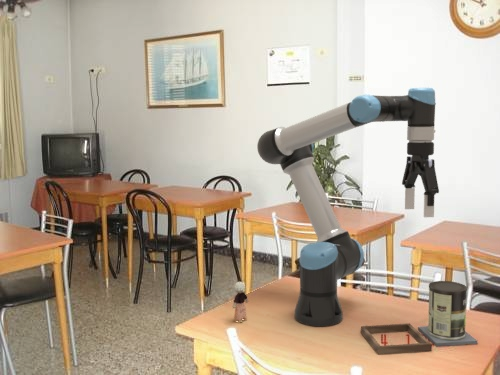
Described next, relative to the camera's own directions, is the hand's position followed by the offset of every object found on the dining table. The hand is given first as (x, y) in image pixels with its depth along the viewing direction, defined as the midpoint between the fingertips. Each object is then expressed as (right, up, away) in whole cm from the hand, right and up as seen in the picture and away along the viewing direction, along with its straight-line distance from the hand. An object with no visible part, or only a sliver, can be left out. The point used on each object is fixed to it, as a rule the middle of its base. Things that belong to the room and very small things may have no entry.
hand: (418, 213), depth 161 cm
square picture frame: (-9, -36, -8) cm, 38 cm away
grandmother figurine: (-53, -35, +10) cm, 64 cm away
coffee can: (+7, -35, -5) cm, 36 cm away
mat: (+7, -36, -5) cm, 36 cm away
